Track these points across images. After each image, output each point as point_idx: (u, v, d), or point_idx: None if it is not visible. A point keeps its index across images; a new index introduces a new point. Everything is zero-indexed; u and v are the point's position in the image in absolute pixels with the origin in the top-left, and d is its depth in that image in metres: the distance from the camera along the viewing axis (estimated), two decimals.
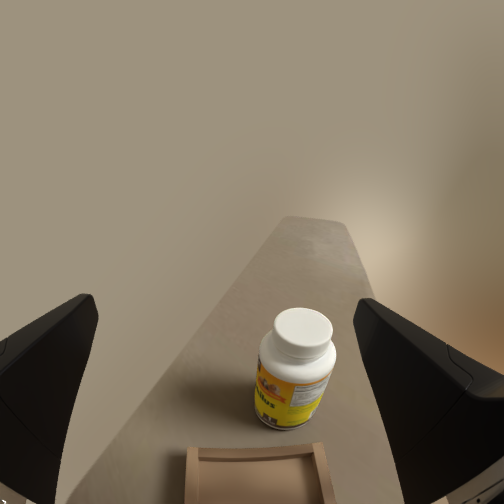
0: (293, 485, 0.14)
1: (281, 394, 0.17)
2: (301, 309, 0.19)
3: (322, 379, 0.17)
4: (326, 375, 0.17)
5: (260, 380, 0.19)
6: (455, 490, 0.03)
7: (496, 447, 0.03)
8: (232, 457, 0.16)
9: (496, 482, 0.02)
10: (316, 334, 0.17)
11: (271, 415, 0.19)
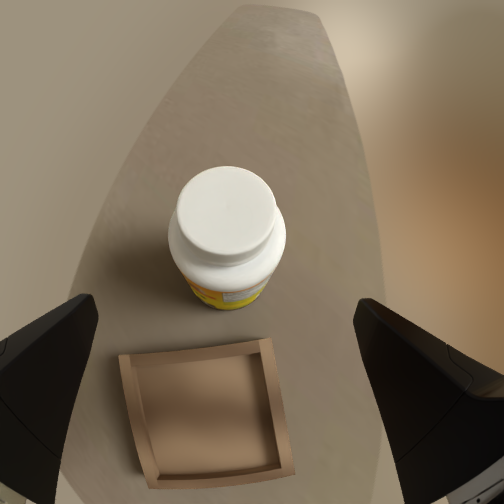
0: (239, 391, 0.17)
1: (208, 294, 0.14)
2: (225, 170, 0.11)
3: (262, 280, 0.13)
4: (268, 275, 0.13)
5: None
6: (455, 490, 0.03)
7: (496, 447, 0.03)
8: (166, 363, 0.16)
9: (496, 482, 0.02)
10: (247, 227, 0.10)
11: (206, 301, 0.17)
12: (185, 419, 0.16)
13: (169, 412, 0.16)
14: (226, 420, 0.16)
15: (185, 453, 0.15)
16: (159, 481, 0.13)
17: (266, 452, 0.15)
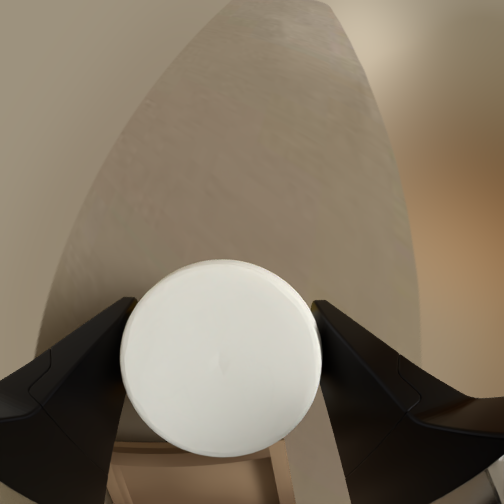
0: (243, 489, 0.11)
1: None
2: (215, 276, 0.05)
3: None
4: None
5: None
6: None
7: (440, 482, 0.02)
8: (153, 465, 0.10)
9: None
10: (263, 409, 0.05)
11: None
12: None
13: None
14: None
15: None
16: None
17: None
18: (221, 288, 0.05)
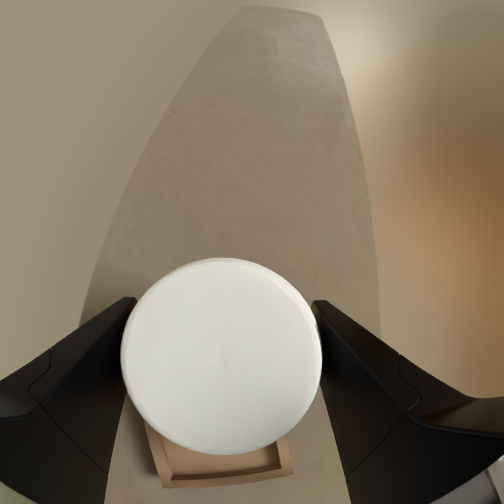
0: None
1: None
2: (215, 274, 0.05)
3: None
4: None
5: None
6: None
7: (439, 482, 0.02)
8: None
9: None
10: (263, 406, 0.05)
11: None
12: None
13: None
14: None
15: (195, 456, 0.17)
16: (172, 481, 0.15)
17: (267, 454, 0.17)
18: (222, 286, 0.05)
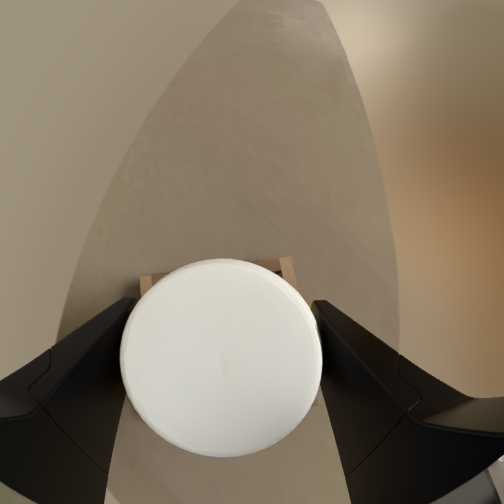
0: None
1: None
2: (215, 276, 0.05)
3: None
4: None
5: None
6: None
7: (439, 482, 0.02)
8: None
9: None
10: (264, 408, 0.05)
11: None
12: None
13: None
14: None
15: None
16: None
17: None
18: (221, 287, 0.05)
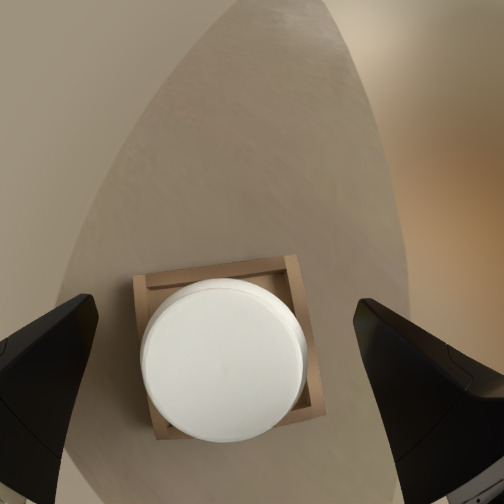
0: None
1: None
2: (217, 299, 0.07)
3: None
4: None
5: None
6: (455, 490, 0.03)
7: (496, 447, 0.03)
8: (186, 281, 0.16)
9: (496, 482, 0.02)
10: (255, 403, 0.06)
11: None
12: None
13: None
14: None
15: None
16: (169, 429, 0.13)
17: None
18: (222, 308, 0.07)
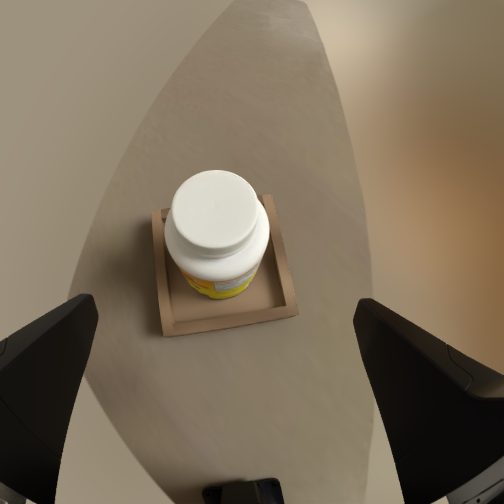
0: None
1: (201, 284, 0.15)
2: (213, 174, 0.13)
3: (249, 270, 0.14)
4: (254, 265, 0.14)
5: None
6: (455, 490, 0.03)
7: (496, 447, 0.03)
8: None
9: (496, 482, 0.02)
10: (232, 223, 0.12)
11: (200, 291, 0.19)
12: None
13: None
14: None
15: (200, 298, 0.21)
16: (174, 325, 0.19)
17: (271, 295, 0.21)
18: (216, 178, 0.13)
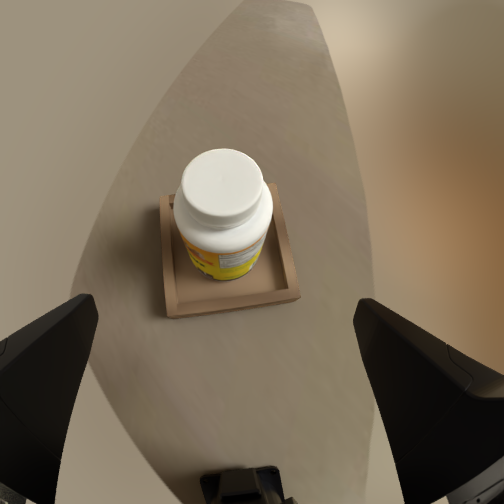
0: None
1: (206, 259, 0.16)
2: (221, 152, 0.13)
3: (253, 245, 0.15)
4: (258, 239, 0.15)
5: None
6: (455, 490, 0.03)
7: (496, 447, 0.03)
8: None
9: (496, 482, 0.02)
10: (238, 195, 0.13)
11: (204, 271, 0.19)
12: None
13: None
14: None
15: (205, 280, 0.22)
16: (178, 305, 0.20)
17: (274, 279, 0.22)
18: (224, 155, 0.13)
